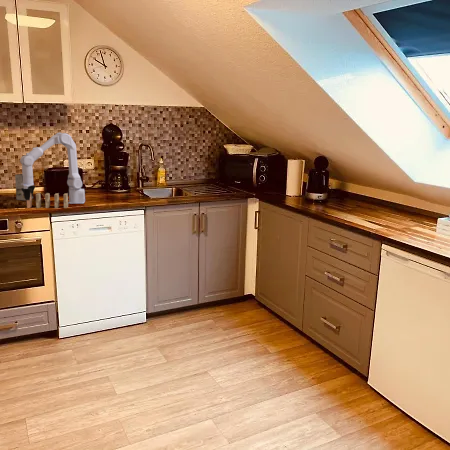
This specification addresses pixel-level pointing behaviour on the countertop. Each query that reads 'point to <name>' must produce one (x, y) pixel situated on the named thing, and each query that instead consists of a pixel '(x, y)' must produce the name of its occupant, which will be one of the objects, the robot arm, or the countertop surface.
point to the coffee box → (19, 187)
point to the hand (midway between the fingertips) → (29, 199)
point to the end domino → (29, 202)
